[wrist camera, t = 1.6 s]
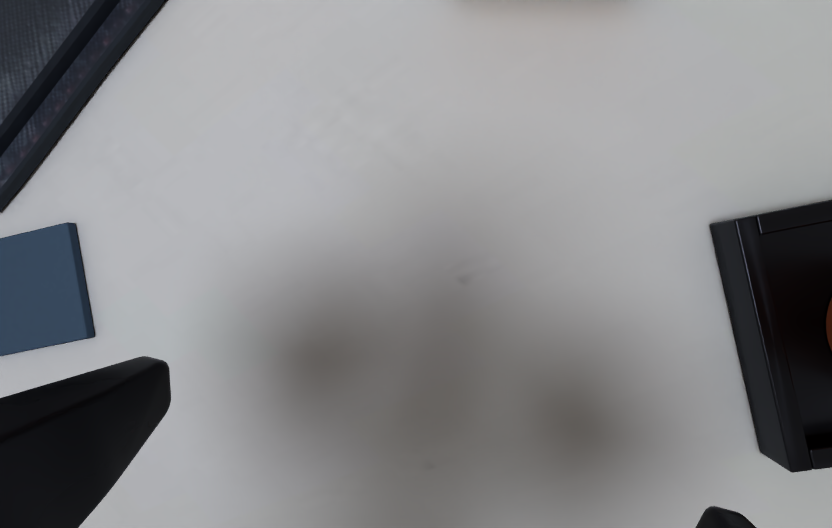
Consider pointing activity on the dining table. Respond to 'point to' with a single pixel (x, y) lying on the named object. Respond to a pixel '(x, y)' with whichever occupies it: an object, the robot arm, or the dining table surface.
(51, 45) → the wallet
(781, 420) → the black square tray
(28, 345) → the mat
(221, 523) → the dining table surface
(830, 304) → the spice jar
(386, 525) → the dining table surface
